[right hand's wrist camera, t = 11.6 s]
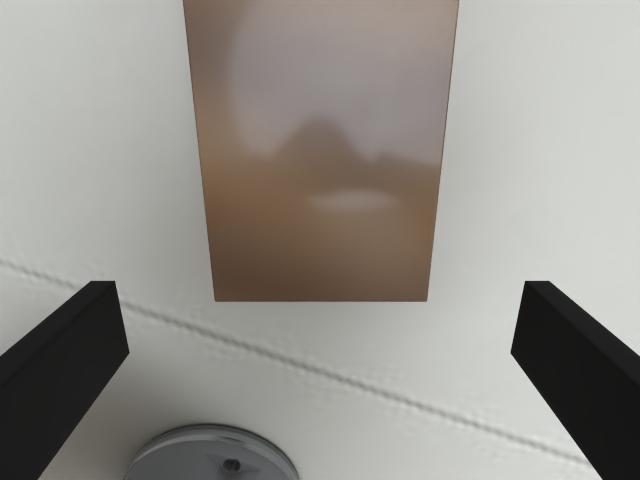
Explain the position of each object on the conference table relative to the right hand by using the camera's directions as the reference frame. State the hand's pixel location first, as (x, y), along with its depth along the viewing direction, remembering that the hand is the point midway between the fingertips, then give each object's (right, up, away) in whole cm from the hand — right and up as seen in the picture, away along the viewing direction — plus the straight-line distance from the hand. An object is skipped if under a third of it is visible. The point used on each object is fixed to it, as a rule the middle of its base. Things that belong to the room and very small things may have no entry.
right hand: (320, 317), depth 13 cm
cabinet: (0, +12, +10) cm, 16 cm away
